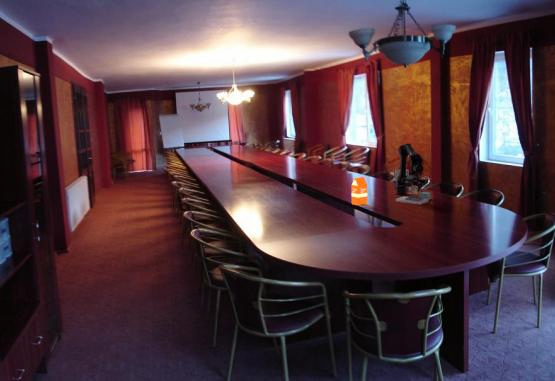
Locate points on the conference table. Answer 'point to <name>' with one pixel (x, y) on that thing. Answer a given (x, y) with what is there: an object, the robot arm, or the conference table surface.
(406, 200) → the grey tray
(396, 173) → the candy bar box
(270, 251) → the conference table surface
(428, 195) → the teal block
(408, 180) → the robot arm
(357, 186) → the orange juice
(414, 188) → the birch block
